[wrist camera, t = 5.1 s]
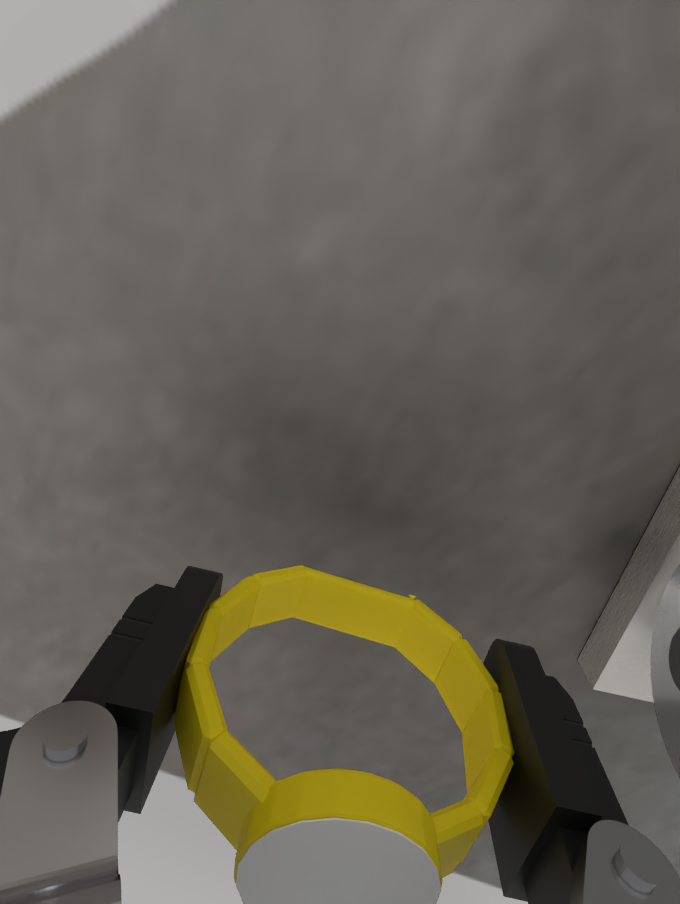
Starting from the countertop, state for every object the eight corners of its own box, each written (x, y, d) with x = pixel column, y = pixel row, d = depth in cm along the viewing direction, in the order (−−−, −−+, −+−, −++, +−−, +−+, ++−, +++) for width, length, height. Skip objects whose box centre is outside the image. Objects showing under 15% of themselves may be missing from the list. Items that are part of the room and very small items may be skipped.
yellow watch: (483, 582, 12) (606, 870, 7) (441, 668, 13) (517, 980, 8) (234, 519, 11) (135, 781, 6) (210, 614, 12) (106, 914, 7)
